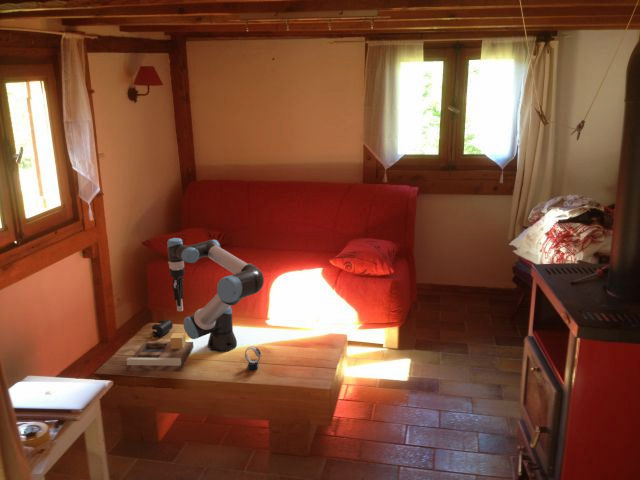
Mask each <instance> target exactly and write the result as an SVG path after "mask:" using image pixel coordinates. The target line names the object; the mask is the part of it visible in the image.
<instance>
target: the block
mask: <svg viewBox="0 0 640 480" xmlns="http://www.w3.org/2000/svg"><path fill="white" fill-rule="evenodd" d="M185 333H186V332H173V333H172V334H171V336H170V341H169V342H171V349H183V347H184V345H185V344H186V342H187V341H186V334H185Z"/></svg>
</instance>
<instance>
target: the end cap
mask: <svg viewBox="0 0 640 480" xmlns="http://www.w3.org/2000/svg"><path fill="white" fill-rule="evenodd" d="M157 323H158V324H157ZM157 323H156V324H153V325H152V326H151V329H152V330H153V331H152V332H151V333H152V335H153V337H154V338H161V337H163V336H164V335H166V334H167V333H168V332H169V331H170V330H172V329H173V322H172V320H170V319H166V320H159V321H157Z"/></svg>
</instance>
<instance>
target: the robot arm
mask: <svg viewBox="0 0 640 480" xmlns="http://www.w3.org/2000/svg"><path fill="white" fill-rule="evenodd" d="M166 248H167V256H168V261H167V264H168V267H169V270H168V271H169V276H170V277H171V278H173V279H172V285H171V287H172V291H173V297H174V301H175V302H176V312H183V311H184V306H183V305H184V304H183V299H184V298H185V297H184V277H183V276H185V275H186V271H185V263H190V264H194V263H196V262H197V261H199V259H203V258H208V259H210V260H212V261H213V262H215V263H216V264H218V265H219V266H221V267H222V268H224V269H226V270H227V271H229V272H230V273H232V274H231V275H226V276H224V277H222V278H220V279H219V281H218V282H217V284H216V285H217V286H216V287H217V288H216V294H215V295H214V296H213V297H212V299H210V300H209V301H208V302H207V304H205V305H204V307H202V308H199V309H197V310H196V311H195V312H194V313H193V314H191V315H188V316H187V317H184V319H183V322H182V323H183V328H184V331H185V333H186V335H187V337H188V338H189V339H191V340H196V339H199V338H202V337H204V336H206V335H208V334H209V337H208V340H207V348H208V349H209V350H210V351H213V352H217V353H222V352H224V353H225V352H229V351H232V350H233V349H235V348H236V347H237V346H238V341H237V337H236V336H235V333H234V328H233V326H234V325H233V311H232V310H233V309H232V306H235V305H237V304H239V302H241V301H242V300H243V299H244V298H247V297H249V296H252V295H255V294H257V293H259V292H260V291H261V290H262V288H263V286H264V282H265V279H264V274H263V272H262V271H261V269H260V268H258V267H257V266H256V265H254V264H253V263H247V262H246V261H244V260H242V259H240V258H238V257H237V256H235V255H234V254H232V253H230V252H229V251H228V250H226V249H223V248H222V247H221V244H220V242H219V241H218V240H217V239H210V240H205V241H202V242H199V243H195V244H190V245H185V244H184V242H183V239H182V238H179V237H172V238H169V239H168V240H167V247H166Z"/></svg>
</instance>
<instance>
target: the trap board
mask: <svg viewBox="0 0 640 480" xmlns="http://www.w3.org/2000/svg"><path fill="white" fill-rule="evenodd" d="M185 342H186V344H185V345H184V347H183V349H171V342H170V341H147V340H146V341H143V343H142V344H141V345H140V347H139V348H138V349H137V351H136V352H135V354H134V355H133V356H132V357H127V358H126V367H127V371H128V372H131V371H132V370H133V371H132V372H135V371H136V372H139V371H142V372H181V371H182V370H183V368H184V366H185V364H186V362H187V360H188V358H189V356H190V355H191V352H192V351H193V349H194V341H185ZM129 370H130V371H129Z"/></svg>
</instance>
